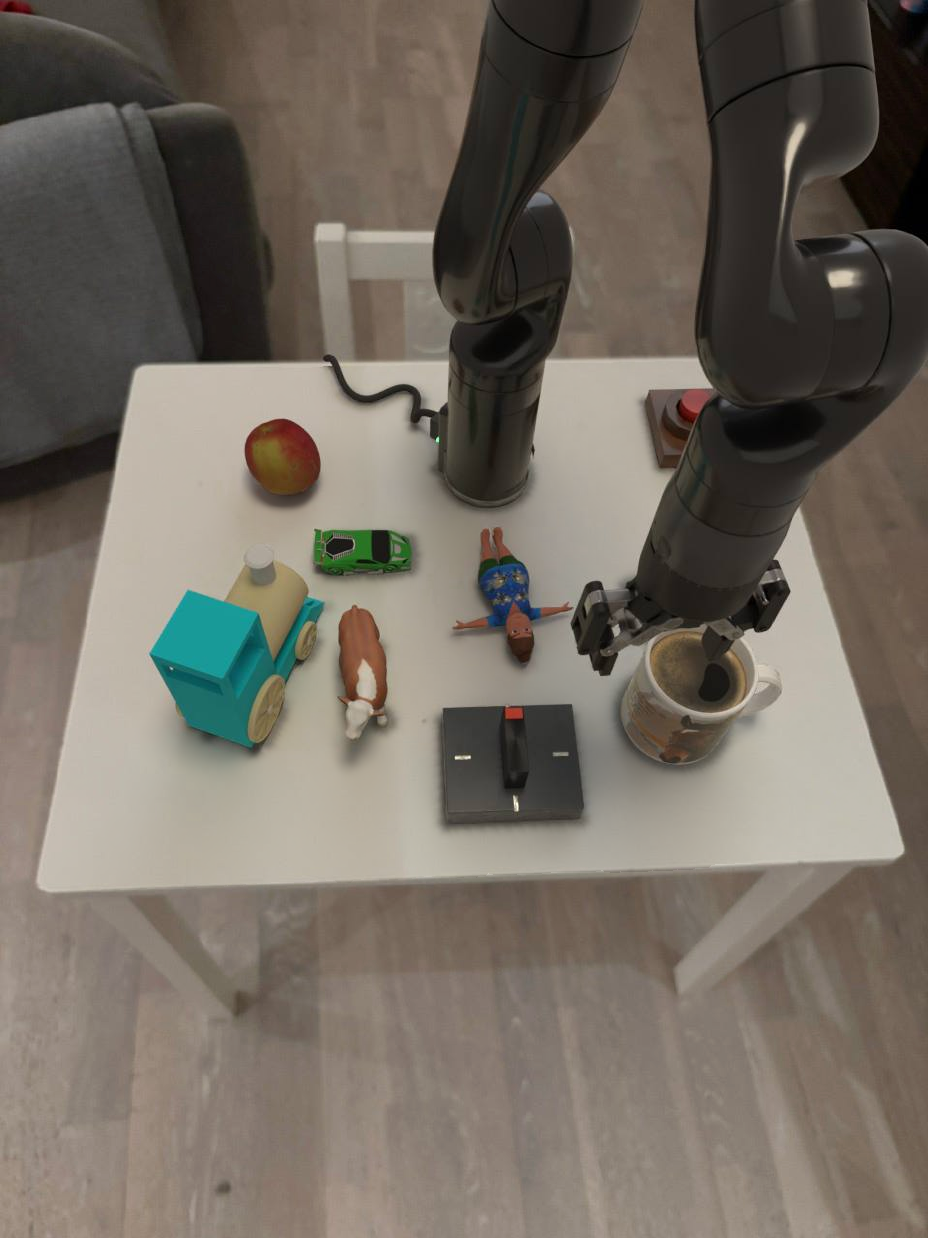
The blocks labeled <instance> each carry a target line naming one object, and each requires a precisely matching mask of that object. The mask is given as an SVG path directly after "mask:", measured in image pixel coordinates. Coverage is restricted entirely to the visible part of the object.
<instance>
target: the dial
mask: <svg viewBox="0 0 928 1238" xmlns="http://www.w3.org/2000/svg"><path fill="white" fill-rule="evenodd" d="M500 738H501V751H502V764H503V777H504V788H525V784H526V781H527V777H528V774H529V762H528V752H527V741H526V730H525V719H524V708H523V707H503V710H502V716H501V721H500Z"/></svg>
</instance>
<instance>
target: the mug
mask: <svg viewBox="0 0 928 1238" xmlns="http://www.w3.org/2000/svg"><path fill="white" fill-rule="evenodd" d="M707 627H708V626H706V625H705V624H702V625H701V626H700V627H698V628H690V629H686V628H679V629H675V630H671V631H666V632H662V633H660V634H658V635H657V636H655V637H654V638H652V639H650V640H649V641H647V645H646V646H645V648H644V651H643V653H642V655H641V657H640V659H639V662H638V664H637V666H636V668H635V671H634V673H633V675H632V677H631V680H630V682H629V684H628V686H627V688H626V690H625V693H624V695H623V697H622V701H621V705H620V706H621V707H620V717H621V723H622V726H623V728H624V732H625V733H626V735H627V737H628V738H629V741H631V742H632V744H633V745H634V746H635V747H636V748H637V749H638V750H639V751H640V752H642V753H643V754H645V756H647V757H649V758H650V759H653V760H655V761H658V762H661V763H663V764H667V765H668V764H669V765H678V766H682V765H689V764H693V763H696V762H697V763H698V761H701V760H703V759H705V758H706V757H708V756H709V755H710V754H711V753H712V752H713V751H714V750H715V749H716V747H717V746H718V745H719V743H721V741H722V739H723V738H724V736H725V735H726V734H727V732H728V731H729V730H730V728H731V727H732V726H733V724H734V723H735V722H736V720H737V719H738V718H742V717H746V716H750V715H754V714H757V713H759V712H761V711H763V710H765V709H768V707H770V706H772V705H773V704H774V703H775V702H776V701H777V700H778V698H780V696H781V695H782V692H783V685H782V681H781V678H780V673H779V671H778V670H777V669H775V668H774V667H773V666H771V665H768V664H766V663H759V662H758V661H757V658H756V655H755V653H754V651H753V649H752V647H751V646H750V644H749V642H747V640H746V639H745V638H744V636H743V637H741V638H739V639H736V640H735V641H734V643H733V644H732V646H731V648H730V649H729V651H728V652H726V653H725V654H723V655H722V656H721V658H720V660H719V661H714V662H709V661H708V660H707V657H706V654H705V651H704V648H703V645H702V636H703V634H704V632H705V630H706V628H707ZM759 683H765V684H768V686H766V687H765V688H763V689H762V690H760V691H759V692H757V693H756V691H757V689H758V684H759Z"/></svg>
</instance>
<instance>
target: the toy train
mask: <svg viewBox="0 0 928 1238" xmlns="http://www.w3.org/2000/svg"><path fill="white" fill-rule="evenodd" d="M243 562H244V566H243V567H242V569H241V571H240V573H239V574H238V576H237V578H236V580H235V581H234V583H233V585H232V587H231V589H230V590H229V592H228V594H227V595H226V598H225V599H224V600H221V599H218V598H214V597H211V596H208V595H206V594H203V593H199V592H196V591H193V590H191V589H187V590H186V591H185V593H184V595H183V597H182V598H181V600H180V601H179V603H178V605H177V607H176V608H175V610H174V611H173V613H172V615H171V617H170V618H169V620H168V622H167V623H166V624H165V627H164V628H163V630H162V632H161V633H160V634H159V636H158V638H157V639H156V641H155V643H154V645H153V646H152V648H151V650H150V652H149V653H148V655H149V656H150V658H151V660H152V662H153V664H154V665H155V668H156V669H157V671H158V672H159V674H160V676H161V678H162V680H163V682H164V683H165V685H166V687H167V689H168V691H169V693H170V694H171V696H172V698H173V700H174V703H175V710H176V713H177V715H178V716H179V717H180V718H183V719H184V720H185V721H186V724H187V725H188V726H189V727H191V728H194V729H197V730H200V731H202V732H206V733H209V734H212V735H214V736H217V737H220V738H223V739H226V740H228V741H232V742H235V743H237V744H240V745H242V746H246V747H248V748H250V749H251V748H253V746H254V744H258V743H261V742H263V741H264V740H265V739H266V738H267V737H268V735H269V734H270V732H271V731H272V729H273V728H274V726H275V724H276V721H277V719H278V717H279V715H280V711H281V709H282V706H283V702H284V697H285V689H286V684H285V683H286V680H287V679H288V677H289V675H290V673H291V670H292V669H293V667H294V665H295V663H296V661H297V660H299V661H300V660H301V661H303V660H305V659H307V658H308V656H309V654H310V653H311V651H312V648H313V646H314V643H315V641H316V637H317V632H318V631H317V629H318V627H317V624H316V621H317V620H318V617H319V615H320V613H321V611H322V609H323V607H324V605H325V601H323V600H319V599H317V598H313V597H310V596H308V595H309V587H308V584H307V582H306V581H305V579H304V578H303V577H302V576H301V575H300V574H299V573H298V572H297V571H296V570H295V569H293V568H292V567H290V566H288V565H287V564H284V563H283V562H280V561H278V560H275V552H274V550H273V549H272V547H270V546H269V545H267V544H264V543H256V544H253V545H251V546H249V547H248V548H247V549H246V550H245V551H244V553H243ZM171 668H172V669H171Z"/></svg>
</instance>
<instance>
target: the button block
mask: <svg viewBox="0 0 928 1238" xmlns="http://www.w3.org/2000/svg"><path fill="white" fill-rule="evenodd" d="M689 390H702V391H704V392H706V393H708V394H709V395H710V396H712V395H713V394H714V393H715V392H716V391H715V389H714V388H713V387H711V388H710V387H709V388H708V387H707V388H671V389H670V388H669V389H668V388H666V389H665V388H663V389H662V388H661V389H649V390H648V391H647V394H646V395H647V396H646V399H645V402H644V405H645V408H646V409H645V410H646V414H647V417H648V421H649V425H650V430H651V434H652V439H653V442H654V443H653V444H654V448H655V451H656V457H657V461H658V466H659V468H660V469H668V468H669V469H671V468H674V469H675V468H677V466H678V464H679V461H680V458H681V456H682V453H683V450H684V448H685V445H686V442H687V440H688V437H689V434H690V432H691V429H692V427H693V423H690V422H688V421H685V420H684V419H683V418H681V417H680V415H679V413H678V408H679V405H680V402H681V399H682V396H683V395H684V393H686V392H687V391H689Z"/></svg>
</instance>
